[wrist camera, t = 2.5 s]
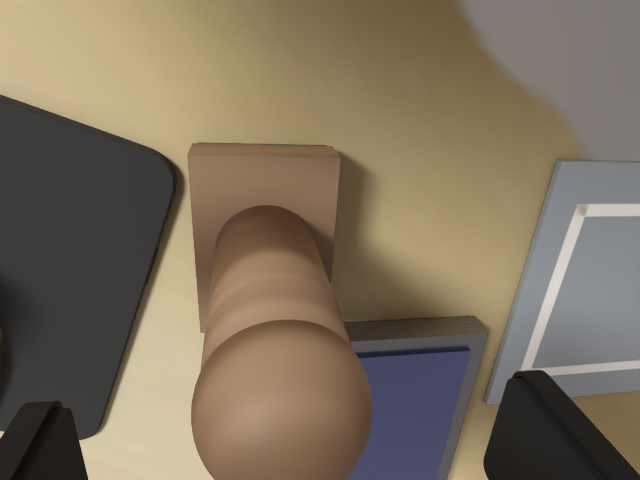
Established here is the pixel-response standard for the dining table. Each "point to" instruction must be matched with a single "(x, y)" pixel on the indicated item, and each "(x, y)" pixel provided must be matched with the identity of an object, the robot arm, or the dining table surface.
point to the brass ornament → (1, 352)
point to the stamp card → (580, 285)
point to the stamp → (272, 317)
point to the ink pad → (416, 392)
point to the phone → (72, 256)
